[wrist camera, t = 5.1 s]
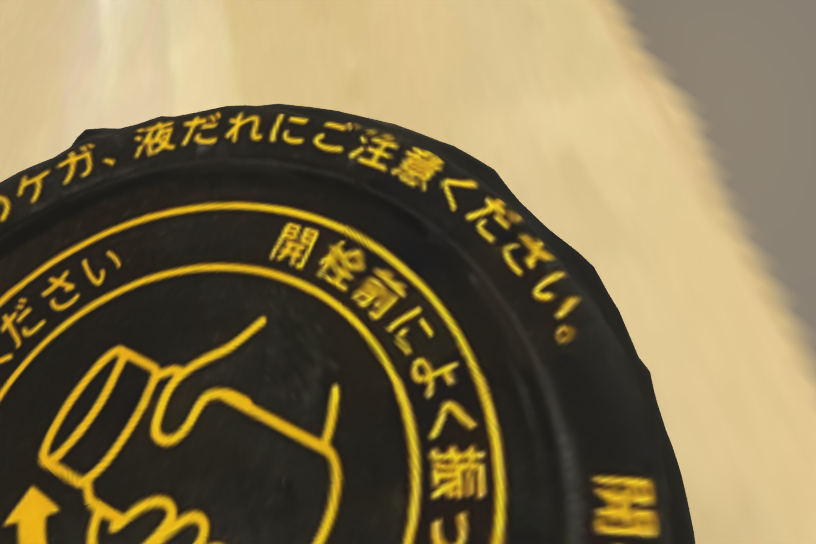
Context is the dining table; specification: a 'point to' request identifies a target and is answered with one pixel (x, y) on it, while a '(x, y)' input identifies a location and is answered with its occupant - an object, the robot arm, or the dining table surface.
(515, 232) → the condiment
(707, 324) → the dining table surface
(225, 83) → the dining table surface
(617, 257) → the dining table surface
